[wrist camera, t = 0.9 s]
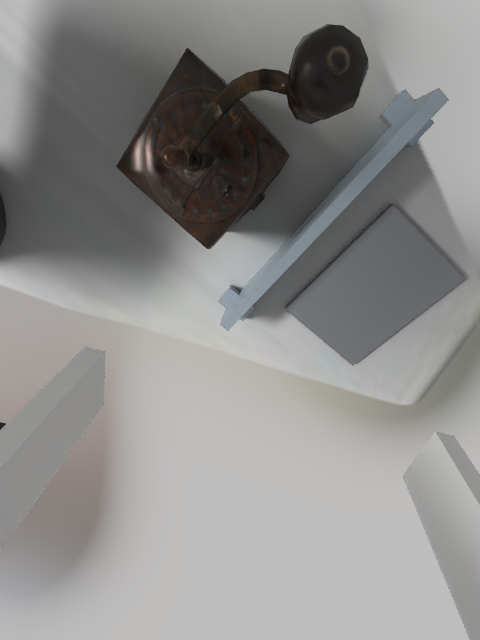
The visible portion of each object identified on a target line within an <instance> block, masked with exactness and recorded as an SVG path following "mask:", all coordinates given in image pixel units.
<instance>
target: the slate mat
mask: <svg viewBox="0 0 480 640" xmlns="http://www.w3.org/2000/svg"><path fill="white" fill-rule="evenodd" d="M463 280H465V278H464V277H463V276H462V275H461V274H460V273H459V272H458V271H457V270H456V268H455V267H454V266H453V265H452V264H451V263H450V262H449V261H448V260H447V259H446V258H445V257H444V256H443V255H442V254H441V253H440V252H439V251H438V250H437V249H436V248H435V247H434V246H433V245H432V244H431V243H430V242H429V241H428V240H427V239H426V238H425V237H424V236H423V235H422V234H421V233H420V231H419V230H418V229H417V228H416V227H415V226H414V225H413V224H412V223H411V222H410V221H409V220H408V219H407V218H406V217H405V216H404V215H403V214H402V213H401V212H400V211H399V210H398V209H397V208H396V207H395V206H394V205H393V204H391V205H390V206H389V207H388V208H387V209H386V210H385V211H384V212H383V213H382V214H381V215H380V216H379V217H378V218H377V219H376V220H375V221H374V222H373V223H371V224H370V225H369V226H368V227H367V228H366V229H365V230H364V231H363V232H362V233H361V234H360V235H359V236H358V237H357V238H356V239H355V240H354V241H353V242H352V243H351V244H350V245H349V246H348V247H347V248H346V249H345V250H344V251H343V252H342V253H341V254H340V255H339V256H338V257H337V258H336V259H335V260H334V261H333V262H332V263H331V264H330V265H329V266H328V267H326V268H325V269H324V270H323V271H322V272H321V273H320V274H319V275H318V276H317V277H316V278H315V279H314V280H313V281H312V282H311V283H310V284H309V285H308V286H307V287H306V288H305V289H304V290H303V291H302V292H301V293H300V294H299V295H298V296H297V297H296V298H295V299H294V300H293V301H292V302H291V303H290V304H289V305H288V306H287V307H286V310H287V311H288V312H289V313H291V314H292V315H293V316H294V317H295V318H297V319H298V320H299V321H300V322H301V323H303V324H304V325H305V326H306V327H307V328H309V329H310V330H311V331H312V332H313V333H315V334H316V335H317V336H318V337H319V338H321V339H322V340H323V341H324V342H325V343H327V344H328V345H329V346H330V347H331V348H333V349H334V350H335V351H336V352H337V353H339V354H340V355H341V356H342V357H343V358H344V359H346V360H347V361H348V362H349V363H350V364H352V365H354V364H355V363H357V362H358V361H359V360H361V359H362V358H363V357H365V356H366V355H367V354H368V353H370V352H371V351H372V350H374V349H375V348H376V347H378V346H379V345H380V344H381V343H383V342H384V341H385V340H387V339H388V338H389V337H390V336H392V335H393V334H394V333H396V332H397V331H398V330H400V329H401V328H402V327H403V326H405V325H406V324H407V323H409V322H410V321H411V320H413V319H414V318H415V317H416V316H418V315H419V314H420V313H422V312H423V311H424V310H426V309H427V308H428V307H429V306H431V305H432V304H433V303H435V302H436V301H437V300H439V299H440V298H441V297H442V296H444V295H445V294H446V293H448V292H449V291H450V290H452V289H453V288H454V287H455V286H457V285H458V284H459V283H461V282H462V281H463Z"/></svg>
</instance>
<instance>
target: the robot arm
mask: <svg viewBox="0 0 480 640" xmlns="http://www.w3.org/2000/svg"><path fill="white" fill-rule="evenodd" d="M4 231H5V213H4V208H3V204H2V200H1V197H0V243H1V241H2V239H3V236H4ZM104 374H105V351H101V350H96V349H93V348H88V347H85V348H84V349H83V350H82V351H81V352H80V353H79V354H78V355H77V356H75V358H73V359H72V361H71V362H69V363H68V364H67V365H66V366H65V367H64V368H63V369H62V370H61V371H60V372H59V373H58V374H57V375H56V376H55V377H54V378H53V379H52V380H51V381H50V382H49V383H48V384H47V385H46V386H45V387H44V388H43V389H42V390H41V391H40V392H39V393H38V394H37V395H36V396H35V397H34V398H32V400H30V402H28V403H27V404H26V405H25V406H24V407H23V408H22V410H20V411H19V412H18V413H17V414H16V415H15V416H14V417H13V418H12V419H11V420H10V421H9V422H8V423H7V424H5V423H1V422H0V551H1V550H2V549H3V547H4V546H5V544H6V543H7V542H8V540H9V539H10V537H11V536H12V534H13V533H14V532H15V530H16V529H17V527H18V526H19V525H20V523H21V522H22V520H23V519H24V517H25V516H26V515H27V513H28V512H29V510H30V509H31V507H32V506H33V505H34V503H35V502H36V500H37V499H38V498H39V496H40V495H41V493H42V492H43V490H44V489H45V488H46V486H47V484H48V483H49V482H50V480H51V479H52V478H53V476H54V475H55V473H56V472H57V470H58V469H59V468H60V466H61V465H62V463H63V462H64V461H65V459H66V458H67V456H68V455H69V453H70V452H71V450H72V449H73V448H74V446H75V445H76V443H77V442H78V440H79V439H80V438H81V436H82V435H83V433H84V432H85V431H86V429H87V428H88V426H89V425H90V424H91V422H92V420H93V419H94V418H95V416H96V415H97V414H98V412H99V411H100V409H101V408H102V406H103V405H104ZM403 478H404V480H405V483H406V485H407V488H408V490H409V493H410V495H411V497H412V500H413V502H414V505H415V507H416V510H417V512H418V515H419V517H420V519H421V522H422V524H423V527H424V529H425V532H426V534H427V536H428V539H429V541H430V544H431V546H432V549H433V551H434V553H435V556H436V558H437V560H438V563H439V566H440V568H441V571H442V573H443V575H444V578H445V580H446V583H447V585H448V588H449V590H450V592H451V595H452V597H453V600H454V602H455V604H456V607H457V610H458V612H459V614H460V617H461V619H462V622H463V624H464V627H465V629H466V631H467V634H468V636H469V639H470V640H480V474H479V473H478V471H477V470H476V468H475V467H474V465H473V464H472V463H471V461H470V459H469V458H468V456H467V455H466V453H465V452H464V450H463V449H462V447H461V446H460V444H459V443H458V441H457V440H456V438H455V437H454V436H452V435H447V434H443V433H440V432H434V434H433V435H432V437H431V438H430V439H429V441H428V442H427V444H426V445H425V446H424V448H423V449H422V450H421V452H420V453H419V455H418V456H417V457H416V459H415V460H414V461H413V463H412V464H411V465H410V467H409V468H408V470H407V471H406V472H405V474H404V475H403Z"/></svg>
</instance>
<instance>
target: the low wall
mask: <svg viewBox="0 0 480 640" xmlns="http://www.w3.org/2000/svg"><path fill="white" fill-rule="evenodd" d="M448 100H449V99H448V98H447V97H446V96H445V95H444V93H443V92H442V91H441V90H440V89H439V88H438V89H436V90H434V91H432V92H430V93H428V94H426V95H424V96H422V97H420V98H418V99H415V100H414V99H413V98H412V97H411V95H410V94H409V93H408V92H407V91H406V90H403V91H402V92H401V93H400V94H399V95H398V96H397V97H396V98H395V99H394V101H393V102H392V103H391V104H390V105H389V106H388V107H387V108H386V110H385V111H384V112H383V113H382V114H381V115H380V117H381V118H382V119H383V120H384V121H385V122H386V124H387V125H388V126H389V128H388V129H387V131H386V132H385V133H384V134H383V135H382V136H381V137H380V138H379V139H378V140H377V142H376V143H375V144H374V145H373V146H372V147H371V148H370V149H369V150H368V152H367V153H366V154H365V155H364V156H363V157H362V158H361V159H360V160H359V161H358V163H357V164H356V165H355V166H354V167H353V168H352V169H351V170H350V171H349V172H348V174H347V175H346V176H345V177H344V178H343V179H342V180H341V181H340V182H339V183H338V185H337V186H336V187H335V188H334V189H333V190H332V191H331V192H330V193H329V195H328V196H327V197H326V198H325V199H324V200H323V201H322V202H321V203H320V204H319V206H318V207H317V208H316V209H315V210H314V211H313V212H312V213H311V214H310V215H309V217H308V218H307V219H306V220H305V221H304V222H303V223H302V224H301V225H300V226H299V228H298V229H297V230H296V231H295V232H294V233H293V234H292V235H291V236H290V238H289V239H288V240H287V241H286V242H285V243H284V244H283V245H282V246H281V247H280V249H279V250H278V251H277V252H276V253H275V254H274V255H273V256H272V257H271V258H270V260H269V261H268V262H267V263H266V264H265V265H264V266H263V267H262V268H261V269H260V271H259V272H258V273H257V274H256V275H255V276H254V277H253V278H252V279H251V280H250V282H249V283H248V284H247V285H246V286H245V287H244V288H243V289H242V290H241V292H239V291H238V290H236V289H235V288H234V287H233V286H230V287H229V288H228V289H227V290H226V292H225V293H224V294H223V295H222V296H221V297H220V298H219V301H218V302H219V303H220V304H222V305H223V306H224V307H225V308H226V310H225V312H224V315H223V318H222V320H221V323H220V325H221V326H222V327H224V328H225V329H226V330H227V331H229V330H230V328H231V327H232V326H233V325H234V324H235V323H236V322H237V321H238V320H239V319H241V320H242V321H243V320H244V319H245V318H246V317H247V316H248V315H249V314H250V313H251V312H252V311H253V310H254V309H255V304H254V303H255V302H256V301H257V300H258V299H259V298H260V297H261V296H262V295H263V294H264V293H265V292H266V291H267V290H268V289H269V288H270V287H271V286H272V284H273V283H274V282H275V281H276V280H277V279H278V278H279V277H280V276H281V275H282V274H283V273H284V272H285V271H286V270H287V269H288V268H289V267H290V266H291V265H292V264H293V262H294V261H295V260H296V259H297V258H298V257H299V256H300V255H301V254H302V253H303V252H304V251H305V250H306V249H307V248H308V247H309V246H310V245H311V244H312V243H313V242H314V240H315V239H316V238H317V237H318V236H319V235H320V234H321V233H322V232H323V231H324V230H325V229H326V228H327V227H328V226H329V225H330V224H331V223H332V222H333V221H334V220H335V218H336V217H337V216H338V215H339V214H340V213H341V212H342V211H343V210H344V209H345V208H346V207H347V206H348V205H349V204H350V203H351V202H352V201H353V200H354V199H355V198H356V196H357V195H358V194H359V193H360V192H361V191H362V190H363V189H364V188H365V187H366V186H367V185H368V184H369V183H370V182H371V181H372V180H373V179H374V178H375V177H376V176H377V174H378V173H379V172H380V171H381V170H382V169H383V168H384V167H385V166H386V165H387V164H388V163H389V162H390V161H391V160H392V159H393V158H394V157H395V156H396V155H397V154H398V152H399V151H400V150H401V149H402V148H403V147H404V146H405V145H406V146H407V147H409V146H412V145H413V144H414V143H415V142H416V141H417V140H418V139H419V138H420V137H421V136H422V135H423V134H424V133H425V131H427V130H428V128H430V126H432V124H433V123H434V122H433V121H432V120H431V118H432V117H433V116H434V115H435V114H436V113H437V112H438V110H440V108H441V107H442V106H443V105H444V104H445V103H446V102H447V101H448Z"/></svg>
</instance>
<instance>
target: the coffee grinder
mask: <svg viewBox="0 0 480 640" xmlns="http://www.w3.org/2000/svg"><path fill="white" fill-rule="evenodd" d="M367 70H368V57H367V55H366V52H365V50H364V47H363V45H362V42H361V40H360V38H359V37H358V36H356V35H355V34H353V33H352V32H351V31H349V30H348V29H347V28H345V27H344V26H340V25H329V24H326V25H324V26H323V27H321V28H319V29H317V30H315V31H313V32H311V33H309V34H308V35H306V36H304V37H303V38H302V40H301V41H300V43H299V44H298V45H297V47H296V48H295V51H294V55H293V58H292V62H291V66H290V70H289V74H286V73H284V72H282V71H279V70H269V69H262V70H257V71H253V72H248V73H246V74H244V75H242V76H240V77H239V78H237V79H235V80H233V81H231V82H230V83H229V84H227V83H226V82H225V81H224V80H223V79H222V78H221V77H220V76H219V75H218V74H217V73H216V72H214V71H213V70H212V69H211V68H210V67H209V66H207V65H206V64H205V63H204V62H203V61H202V60H201V59H199V58H198V57H197V56H196V55H195V54H194V53H192V52H191V51H190V50H189V49H188V48H187V49H186V51H185V52H184V54H183V56H182V57H181V59H180V61H179V63H178V64H177V66H176V68H175V69H174V71H173V73H172V74H171V76H170V78H169V79H168V81H167V83H166V84H165V86H164V87H163V89H162V91H161V92H160V94H159V95H158V97H157V99H156V100H155V102H154V103H153V105H152V107H151V108H150V110H149V111H148V113H147V114H146V116H145V118H144V119H143V121H142V122H141V124H140V126H139V128H138V129H137V131H136V133H135V135H134V137H133V139H132V141H131V143H130V145H129V146H128V148H127V150H126V151H125V153H124V155H123V156H122V158H121V160H120V161H119V163H118V164H117V166H116V167H117V168H118V169H120V170H121V171H122V172H123V173H124V174H125V175H126V176H127V177H128V178H129V179H130V180H131V181H132V182H133V183H134V184H135V185H136V186H137V187H138V188H139V189H141V190H142V191H143V192H144V193H145V194H146V195H147V196H149V197H150V198H151V199H152V200H153V201H154V202H155V203H156V204H157V205H158V206H160V207H161V208H162V209H163V210H164V211H165V212H166V213H167V214H168V215H169V216H171V217H172V218H173V219H174V220H175V221H176V222H177V223H178V224H179V225H180V226H182V227H183V228H184V229H185V230H186V231H187V232H188V233H190V234H191V235H192V236H193V237H194V238H195V239H196V240H198V241H199V242H200V243H201V244H202V245H203V246H205V247H206V248H207V249H211V248H212V247H213V246H214V245H215V244H216V243H217V242H218V241H219V239H220V238H221V237H222V236H223V235H224V234H225V233H226V232H227V231H228V230H229V229H230V228H231V227H232V226H233V225H234V224H235V223H236V222H237V221H238V220H239V219H240V218H241V217H242V216H243V215H244V214H245V213H247V212H248V211H249V210H250V209H252V210H254V209H255V208H256V207H257V206H258V205H259V204H260V203H261V202H262V200H263V199H264V198H265V196H264V194H263V193H264V190H265V189H266V188H267V187H268V185H269V184H270V183H271V182H272V180H273V179H274V178H275V177H276V176H277V175H278V173H279V172H280V170H281V169H282V167H283V166H284V164H285V162H286V161H287V159H288V158H289V157H290V155H289V154H288V153H287V151H286V150H285V149H284V147H283V146H282V144H281V143H280V142H279V140H278V139H277V138H276V136H275V135H274V134H273V133H272V132H271V131H270V130H269V129H268V128H267V127H266V125H265V124H264V123H263V122H262V121H261V120H260V119H259V118H258V117H257V116H256V115H255V114H254V113H253V112H252V111H251V110H250V108H249V107H248V106H247V105H246V104H245V103H244V102H243V101H242V100H241V99H240V98H242V97H244V96H245V95H247V94H249V93H250V92H253V91H260V90H269V91H273V92H278V93H282V94H286V95H287V99H288V104H289V107H290V109H291V111H292V113H293V114H294V116H295V118H296V119H298V120H301V121H303V122H306V123H309V124H312V123H314V122H317V121H319V120H324V119H327V118H330V117H332V116H334V115H336V114H339V113H341V112H343V111H346V110H348V109H350V108H353V106H354V104H355V102H356V100H357V98H358V96H359V92H360V88H361V86H362V83H363V80H364V78H365V75H366V73H367Z"/></svg>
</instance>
